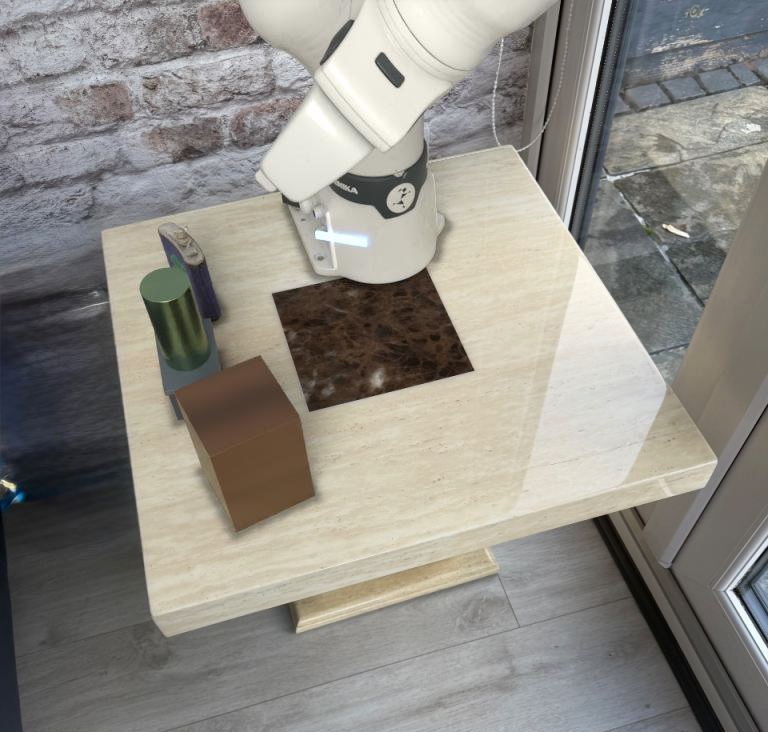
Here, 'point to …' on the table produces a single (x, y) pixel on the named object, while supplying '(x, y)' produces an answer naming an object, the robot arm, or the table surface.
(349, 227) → the robot arm
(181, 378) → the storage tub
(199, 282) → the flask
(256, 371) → the block
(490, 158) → the table surface
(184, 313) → the tin
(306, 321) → the table surface
